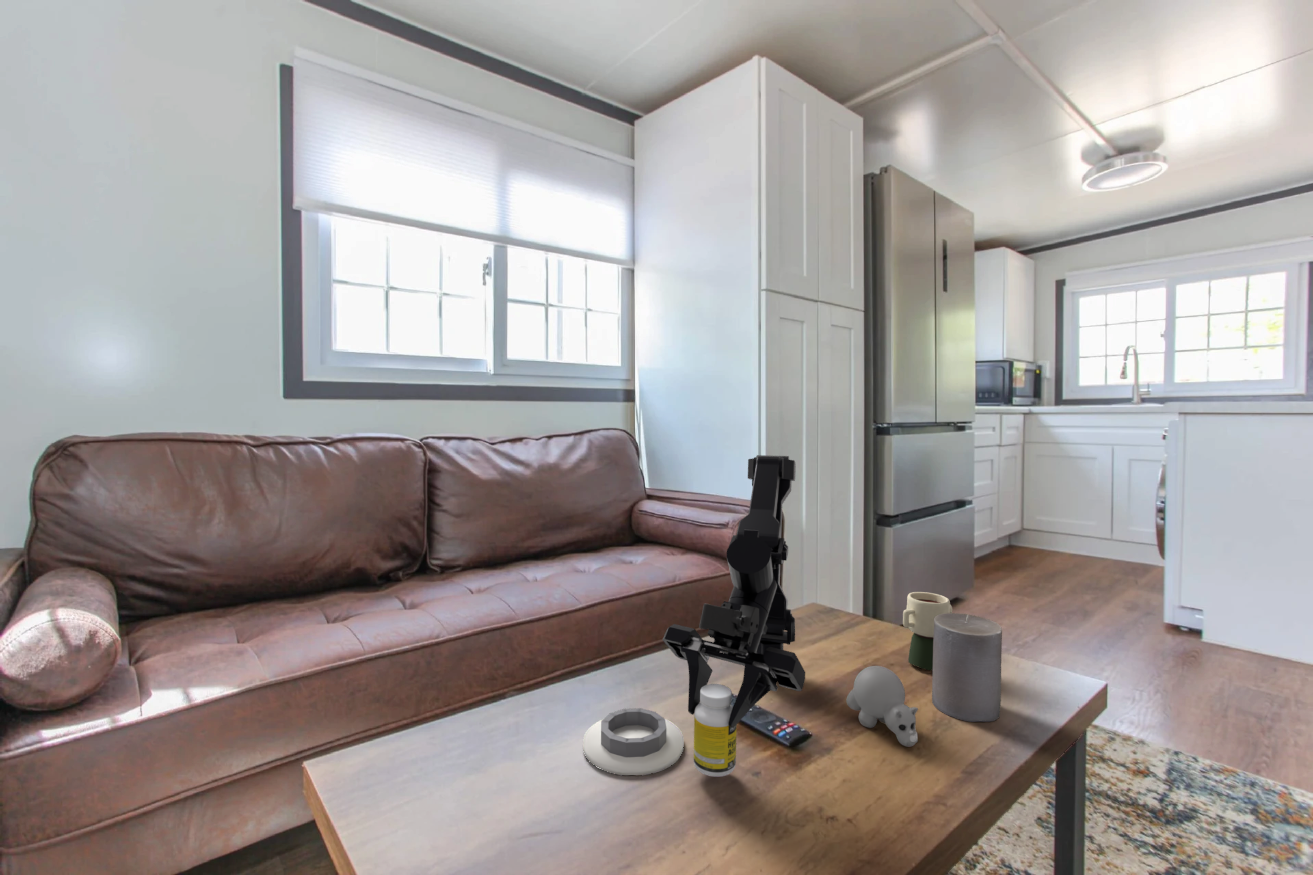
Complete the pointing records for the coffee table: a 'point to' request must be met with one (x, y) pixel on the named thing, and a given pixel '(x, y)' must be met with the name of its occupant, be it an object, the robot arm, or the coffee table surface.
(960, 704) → the pillar candle
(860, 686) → the chubby cartoon animal
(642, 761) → the socket collar
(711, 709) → the supplement bottle
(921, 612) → the character mug
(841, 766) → the coffee table surface
